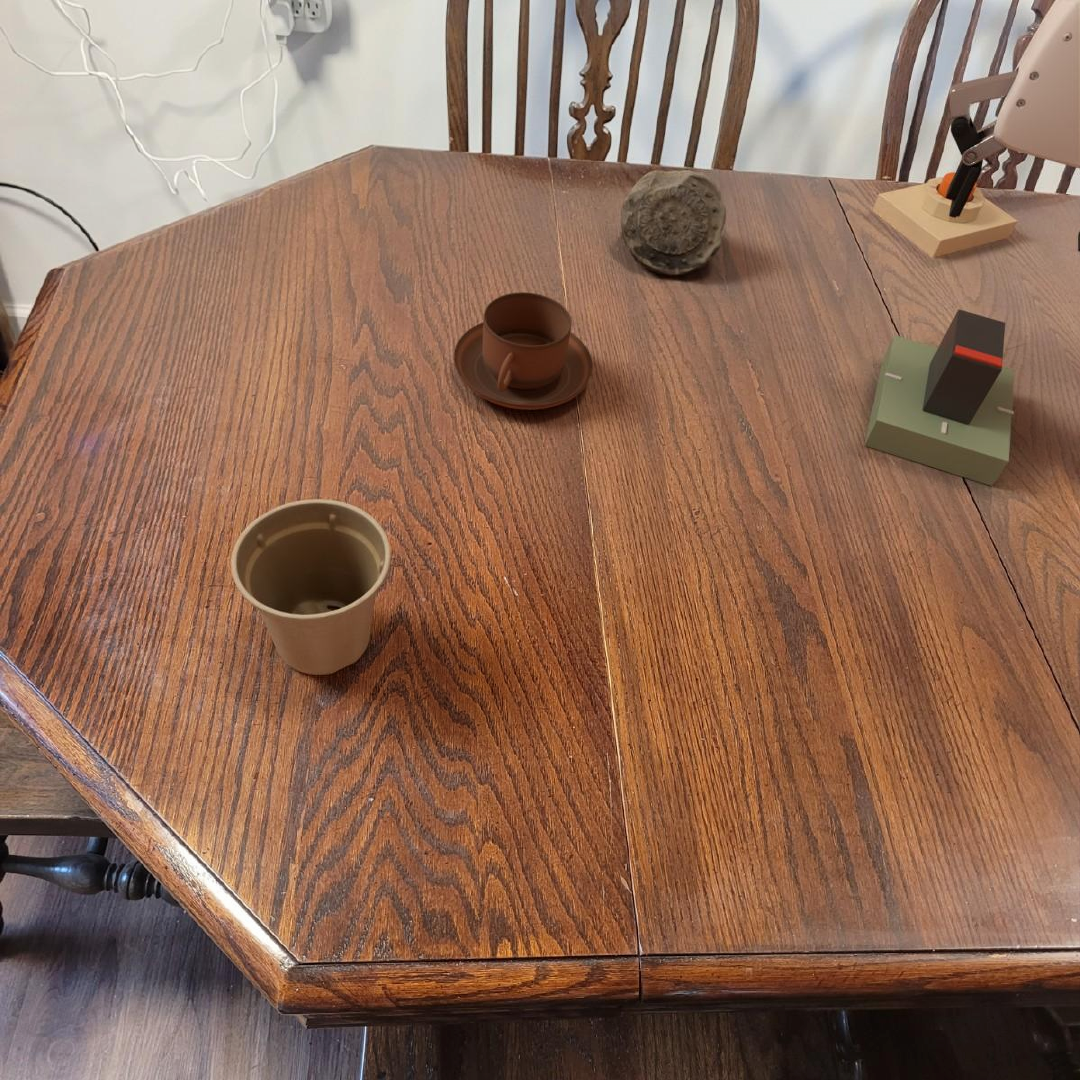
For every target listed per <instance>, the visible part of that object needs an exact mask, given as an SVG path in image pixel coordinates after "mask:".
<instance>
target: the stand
mask: <svg viewBox="0 0 1080 1080" xmlns="http://www.w3.org/2000/svg"><path fill="white" fill-rule="evenodd" d="M937 349H938V347H937V346H933V345H930V344H926V343H923V342H919V341H917V340H914V339H913V340H912V339H909V338H906V337H903V336H900V335H895V334H894V335H893V337H892V339H891V341H890V344H889V346H888V348H887V349H886V352H885V354H884V356H883V358H882V361H881V364H880V365H881V366H880V370H879V375H878V380H877V384H876V389H875V393H874V397H873V402H872V406H871V412H870V416H869V420H868V424H867V425H868V426H867V431H866V434H865V440H864V444H863V445H864V446H865V447H868V448H871V449H874V450H876V451H881V452H883V453H886V454H889V455H892V456H896V457H899V458H902V459H906V460H908V461H911V462H915V463H917V464H921V465H924V466H927V467H931V468H933V469H938V470H940V471H943V472H946V473H949V474H952V475H956V476H958V477H962V478H965V479H968V480H971V481H974V482H978V483H981V484H984V485H987V486H990V487H993V485H995V483H996V481H997V480H998V479H999V477H1000V476H1001V474H1002V472H1003V471H1004V469H1005V468H1006V467H1007V465H1008V463H1009V461H1010V448H1011V434H1012V433H1011V432H1012V416H1014V414H1015V411H1014V410H1013V398H1014V384H1015V383H1014V382H1015V381H1014V379H1015V370H1014V369H1010V368H1007V367H1004V366H1002V371H1001V372H1000V374H999V376H998V377H997V379H996V381H995V382H994V384H993V386H992V387H991V389H990V391H989V392H988V394H987V396H986V397H985V399H984V401H983V402H982V404H981V406H980V407H979V409H978V411H977V412H976V414H975V416H974V417H973V419H972V421H971V422H970V424H969V425H968V424H965V423H961V422H958V421H955V420H952V419H948V418H945V417H942V416H939V415H935V414H932V413H929V412H926V411H923V403H924V397H925V391H926V385H927V378H928V372H929V366H930V363H931V361H932V359H933V357H934V355H935V353H936V351H937Z"/></svg>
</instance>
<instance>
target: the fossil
mask: <svg viewBox="0 0 1080 1080" xmlns="http://www.w3.org/2000/svg"><path fill="white" fill-rule="evenodd" d="M726 219H727V208H726V206H725V204H723V201H722V195H721V191H720V188H719V186H718V185H717V184H716V182H715V181H714V180H713V179H712V178H711V177H710V176H709V175H706V174H705V173H702V172H696V171H694V170H689V169H686V170H685V169H683V170H678V169H674V170H656V169H654V170H652V171H649V172H647V173H646V174H644V175H643V176H641V178H639V180H637V182H636V183H635V184H634V185H633V187H632V188H631V189H630V190H629V192H628V193H627V194H626V196H625V198H624V200H623V202H622V205H621V210H620V225H621V226H620V228H621V236H622V239H623V242H624V244H625V245H626V246H627V249H628V251H629V253H630V255H631V257H632V258H633V260H634V261H635V262H636V263H638V264H640V266H642V267H644V268H645V269H647V270H648V271H651V272H653V273H656V274H658V275H662V276H667V277H676V276H683V275H687V274H690V273H693V272H695V271H697V270H699V269H701V268H702V267H705V266H706V264H708V263H709V262H710V261H711V260H712V259H713V258H714V257H715V256H716V255H717V254H718V252H719V250H720V249H721V247H722V234H723V231H724V226H725V225H726Z"/></svg>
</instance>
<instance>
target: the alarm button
mask: <svg viewBox="0 0 1080 1080" xmlns="http://www.w3.org/2000/svg"><path fill="white" fill-rule="evenodd" d="M955 173H956V171H954V172H947V173H945V174H944V175H943V177H944V178H943V180H942V182H941V184H940V186H939V189H938V194H940V195H941V196H943V197H944V198H945V197H946V193H947V190H948V188H949V186H950V183H951V181H952V179H953V177H954V175H955ZM977 186H978V183H977V182H976V183H975V185H974V187H973V189H972V192H971V194H970V196H969V198H968V200H967V202H969V201H970V199H971V197H972V195H973V193H974V191H975V189H977ZM946 199H947V198H946ZM948 200H950V199H948ZM951 201H952V200H951ZM967 202H966V203H967Z"/></svg>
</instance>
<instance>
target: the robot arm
mask: <svg viewBox="0 0 1080 1080" xmlns="http://www.w3.org/2000/svg"><path fill="white" fill-rule="evenodd" d="M997 99H998V100H999V101H998V105H997V106H996V110H995V114H994V117H996V118H997V119H996V120H993V121H992V122H990V123H988V124H987V125H985V126H983V127H982V128H980V129H977V128H976V126H975V124H974V121H973V119H972V116H971V112H970V109H971V106H972V105H974V104H977V103H982V102H986V101H993V100H997ZM948 108H949V109H948V110H949V120H950V133H951V135H952V139H953V140H954V142H955V144H956V146H957V149H958V151H959V154H960V155H961V160H960V162H959V164H958V166H957V167H956V170H955V175H954V177H953V179H952V181H951V183H950V186H949V188H948V190H947V193H946V197H945V198H947V199H950V200H952V202H951V207H950V212H949V216H950V217H954V218H956V217H959V216H960V214H961V212H962V210H963V208H964V206H965V204H966V202H967V200H968V198H969V196H970V194H971V192H972V189H973V187H974V185H975V183H977V181H978V179H979V177H980V175H981V173H982V169H983V163H984V160H985V159H986V158H987V159H988V158H989V157H990V156H992V155H995V154H996V153H997V152H999V151H1001V150H1003V149H1005V148H1006V149H1009V150H1012V151H1015V152H1017V153H1021V154H1025V155H1028V156H1031V157H1036V158H1039V159H1044V160H1046V161H1050V162H1054V163H1058V164H1061V165H1065V166H1069V167H1073V168H1076V169H1080V0H1054V2H1053V3H1052V4H1051V6H1050V8H1049V10H1048V11H1047V13H1046V14H1045V16H1044V17H1043V18H1042V21H1041V23H1040V24H1039V26H1038V27H1037V29H1036V31H1035V33H1034V34H1033V36H1032V38H1031V39H1030V41H1029V43H1028V45H1027V47H1026V49H1025V50H1024V52H1023V54H1022V56H1021V57H1020V59H1019V62H1018V63H1017V65H1016V67H1015V69H1014V71H1009V72H1003V73H999V74H994V75H989V76H984V77H981V78H975V79H971V80H967V81H962V82H957V83H953V85H952V86H951V88H950V89H949V94H948ZM1077 252H1080V231H1079V232H1078V235H1077Z"/></svg>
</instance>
